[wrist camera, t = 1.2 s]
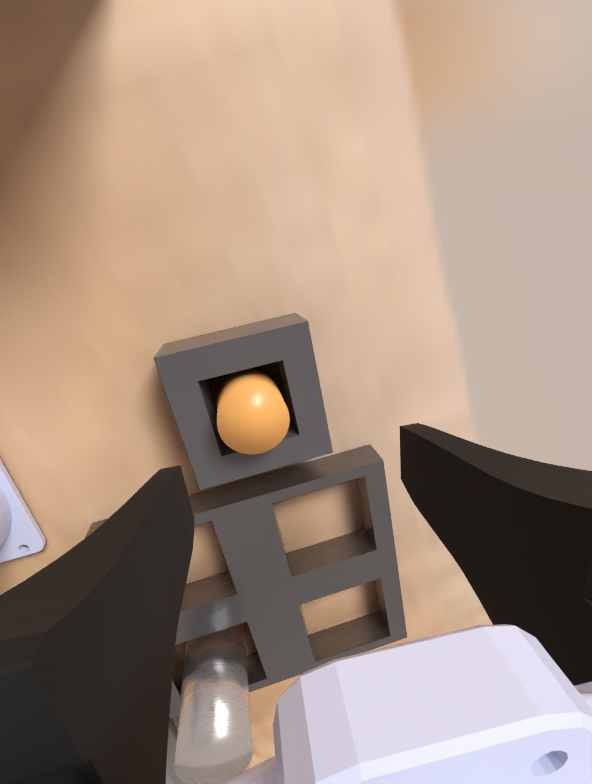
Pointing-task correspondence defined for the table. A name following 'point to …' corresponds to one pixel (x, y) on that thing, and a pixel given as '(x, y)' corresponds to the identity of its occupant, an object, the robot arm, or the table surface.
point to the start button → (251, 412)
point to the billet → (214, 708)
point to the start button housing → (235, 353)
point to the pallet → (292, 571)
